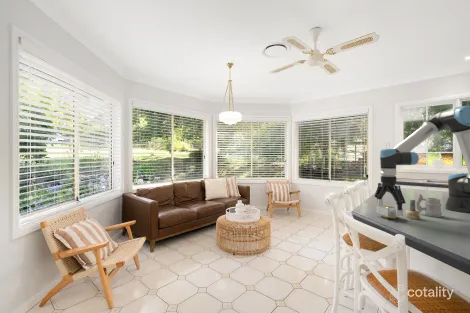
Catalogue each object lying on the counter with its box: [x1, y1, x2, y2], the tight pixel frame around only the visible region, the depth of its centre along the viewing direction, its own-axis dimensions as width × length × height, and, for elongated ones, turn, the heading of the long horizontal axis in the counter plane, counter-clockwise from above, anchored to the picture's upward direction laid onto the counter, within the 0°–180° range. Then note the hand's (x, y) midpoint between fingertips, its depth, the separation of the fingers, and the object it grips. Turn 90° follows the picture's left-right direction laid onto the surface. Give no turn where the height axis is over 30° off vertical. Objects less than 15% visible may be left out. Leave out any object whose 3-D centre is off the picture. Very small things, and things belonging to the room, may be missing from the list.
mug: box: [415, 193, 443, 218], centre depth 136 cm, size 8×12×12 cm, turn 44°
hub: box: [381, 207, 398, 220], centre depth 132 cm, size 7×7×6 cm
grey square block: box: [375, 204, 404, 217], centre depth 132 cm, size 9×9×4 cm
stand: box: [405, 199, 421, 220], centre depth 130 cm, size 6×6×10 cm
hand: (389, 212), depth 132 cm, fingers open, 13 cm apart
